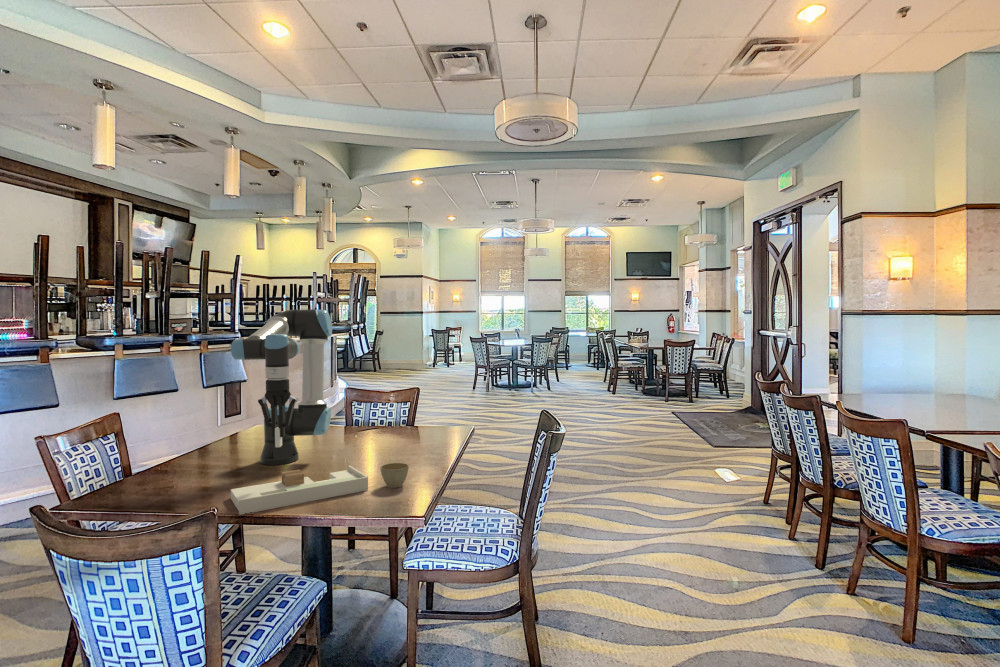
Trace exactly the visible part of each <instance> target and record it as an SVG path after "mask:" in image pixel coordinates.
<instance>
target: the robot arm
mask: <svg viewBox="0 0 1000 667" xmlns="http://www.w3.org/2000/svg"><path fill="white" fill-rule="evenodd" d="M332 324H333V322H332V318H331V315H330V314H329V311H327V309H326V310H325V309H317V308H316V309H289V310H284V311H281V312H278V313H277V314H274V315H273V316H271V317H270V318H268V319H267V321H266V322H265V324H264V325H263V326H262V327H260V328H258V329H257V330H256V331H255V332H253V333H251V335H249V336H248V337H246V338H237V339H236V338H235V339H233V341H232V342H231V345H230V353H231V357H232V358H233V359H234V360H238V361H239V360H241V361H245V360H246V361H248V360H249V361H250V360H251V361H254V360H264V361H265V362H264V363H265V378H266V380H265V393H264V396H263V397H262V398H260V399H258V400H257V402H258V404H259V405H260V407H261V412H262V415H263V418H264V419H263V429H264V431H263V432H264V434H263V435H264V438H263V439H264V444H263V448H262V450H261V453H260V457H259V463H260V464H262V465H266V466H267V465H268V466H277V465H287V464H290V463H294V462H297V461H298V460H299V452H298V448H297V446H296V443H295V437H298V436H299V437H300V436H302V437H303V436H314V437H315V436H323V435H325V434H326V433H327V432H328V430H329V429H330V428H329V427H330V423H331V421H332V409H331V407H328V403H327V402H326V401H325V400H324V378H325V377H324V376H325V375H324V372H325V369H324V368H325V366H324V365H325V344H326V343H327V342H328V341H329V340H328V339H329V337H331V336H332V335H333V325H332ZM290 337H299V341H300V343H302V388H301V389H302V390H301V391H302V392H301V393H302V395H301V398H302V399H301V401H300V402H299V403H298V404H297V407H296V408H295V406H296V405H295V404H296V403H297V402H298V398H297V397H294V396H292V394H291V392H290V379H289V377H290V360H291V359H293V358H295V357H296V356H298V354H299V352H300V344H299V342H298V341H297V340H296V339H294V338H290ZM287 402H289V404H287ZM268 403H269V404H270V407H268V406H269V405H268Z"/></svg>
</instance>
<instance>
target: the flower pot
mask: <svg viewBox="0 0 1000 667" xmlns="http://www.w3.org/2000/svg"><path fill="white" fill-rule="evenodd" d="M409 467H410V465H409V464H408V463H404V462H391V463H386V464H383V465H380V473H381V478H382V479H383V481H384V483H385V485H386V486H387V488H389V489H396V488H397V487H398V488H401V487H402V486H403V485H404V483H405V480H406V479H407V477H408V473H409Z"/></svg>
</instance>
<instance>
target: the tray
mask: <svg viewBox="0 0 1000 667" xmlns="http://www.w3.org/2000/svg"><path fill="white" fill-rule="evenodd" d="M368 490H369V476H368V475H366V474H364V473H363V472H362V471H360V470H358V469H356V468H355V467H353V466H352V465H347V469H345V470H339V471H334V472H329V479H325V480H319V481H318V480H317V481H314V480H312V479H311V478H310V477H308V476H304V484H298V485H292V486H287V487H286V486H285V485H284V484H283V483H282V480H279V481H274V482H267V483H261V484H256V485H248V486H243V487H236V488H231V489H230V499H231V501H232V503H233V505H234V506H235V507H236V509H237V510H238V515H239V516H240V515H246V514H245V513H247V514H250V512H252V513H256V512H262V511H267V510H271V509H277V508H283V507H287V506H288V507H289V506H292V505H297V504H298V505H299V504H303V503H308V502H313V501H317V500H318V501H319V500H324V499H329V498H333V497H340V496H344V495H350V494H354V493H360V492H365V491H368Z"/></svg>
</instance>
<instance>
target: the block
mask: <svg viewBox="0 0 1000 667" xmlns="http://www.w3.org/2000/svg"><path fill="white" fill-rule="evenodd" d="M304 477H305V473H304V472H303V471H302V470H301V469H294V470H288V471H282V472H281V481H282V483H283V484H284V485H285V486H286V487H287V486H292V485H298V484H304Z"/></svg>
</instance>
